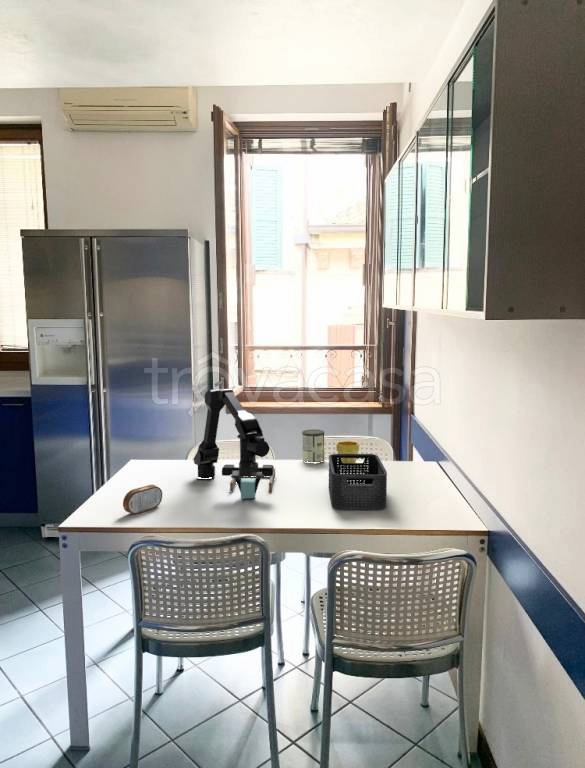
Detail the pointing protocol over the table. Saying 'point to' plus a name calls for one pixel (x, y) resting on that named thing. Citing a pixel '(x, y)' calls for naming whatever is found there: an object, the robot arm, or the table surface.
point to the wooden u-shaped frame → (271, 482)
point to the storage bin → (357, 483)
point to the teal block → (248, 487)
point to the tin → (142, 499)
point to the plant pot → (347, 450)
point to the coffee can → (313, 445)
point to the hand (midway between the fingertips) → (248, 492)
